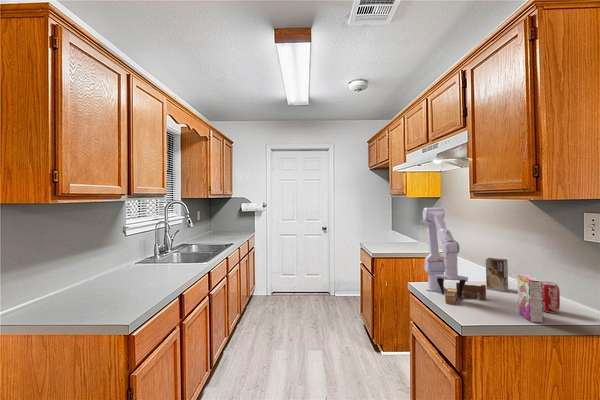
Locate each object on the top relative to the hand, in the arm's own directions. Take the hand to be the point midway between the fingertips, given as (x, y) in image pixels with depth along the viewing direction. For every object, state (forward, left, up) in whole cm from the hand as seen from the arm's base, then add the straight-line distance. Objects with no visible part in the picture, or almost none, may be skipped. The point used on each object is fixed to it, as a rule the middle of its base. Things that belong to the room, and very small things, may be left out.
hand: (451, 295), depth 167 cm
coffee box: (-31, +19, -3) cm, 36 cm away
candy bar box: (+13, +30, -3) cm, 33 cm away
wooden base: (-7, +8, -2) cm, 11 cm away
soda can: (0, +38, -3) cm, 39 cm away
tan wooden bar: (0, 0, -3) cm, 3 cm away
